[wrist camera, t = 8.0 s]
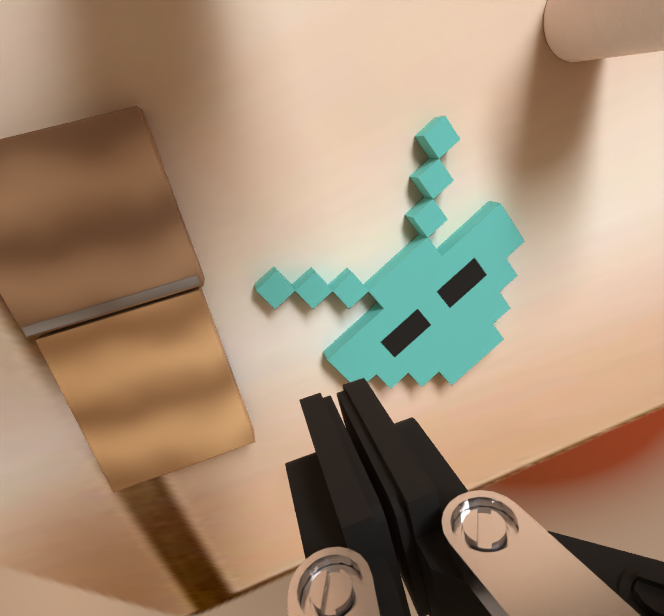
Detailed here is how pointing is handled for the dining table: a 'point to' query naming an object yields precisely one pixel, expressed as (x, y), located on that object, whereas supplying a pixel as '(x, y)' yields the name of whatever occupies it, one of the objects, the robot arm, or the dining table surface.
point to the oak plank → (149, 387)
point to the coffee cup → (603, 28)
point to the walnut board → (88, 223)
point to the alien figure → (421, 288)
